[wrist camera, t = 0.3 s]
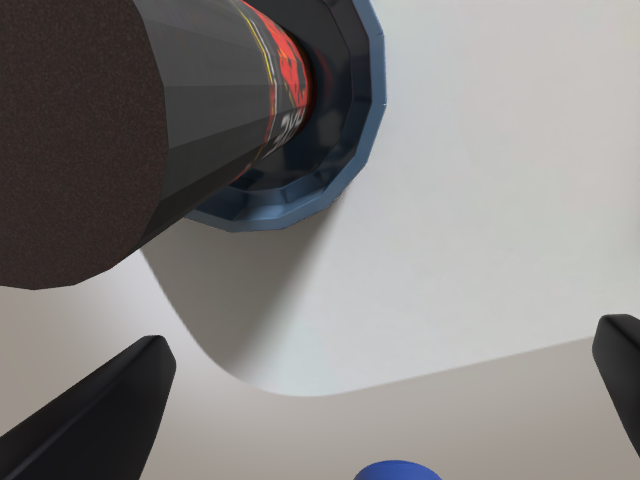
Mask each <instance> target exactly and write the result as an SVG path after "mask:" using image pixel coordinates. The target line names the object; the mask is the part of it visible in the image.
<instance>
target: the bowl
mask: <svg viewBox="0 0 640 480" xmlns="http://www.w3.org/2000/svg"><path fill="white" fill-rule="evenodd" d="M242 1H244V2H246V3H247V4H249V5H250V6H252V7H253V8H255V9H256V10H258V11H260V12H261V13H263V14H264V15H266V16H267V17H269V18H270V19H272V20H273V21H275V22H277V23H278V24H280V25H281V26H283V27H284V28H286V29H287V30H288V31H290V32H291V33H292V34H293V35H295V36H296V37H297V38H298V39H299V40H300V42H301V43H302V44H303V46H304V47H305V48H306V49H307V51H308V53H309V55H310V57H311V59H312V62H313V64H314V66H315V71H316V76H317V82H318V90H317V102H316V105H315V108H314V111H313V114H312V117H311V118H310V120H309V121H308V123H307V125H306V126H305V128H304V129H303V130H302V131H301V132H300V133H299V134H298V135H297V136H295V137H294V138H293V139H292V140H291V141H289V142H288V143H286V144H285V145H284V146H282V147H281V148H279V149H278V150H276V151H275V152H274V153H272V154H271V155H269V156H268V157H267V158H265V159H264V160H262V161H261V162H260V163H258V164H257V165H255V166H254V167H253V168H251V169H250V170H248V171H247V172H246V173H244V174H243V175H241V176H240V177H239V178H237V179H236V180H234V181H233V182H232V183H230V184H229V185H227V186H226V187H225V188H223V189H222V190H220V191H219V192H218V193H216V194H215V195H213V196H212V197H211V198H209V199H208V200H206V201H205V202H204V203H202V204H201V205H199V206H198V207H197V208H195V209H194V210H192V211H191V212H190V213H188V214H187V215H185V216H184V218H188V219H191V220H194V221H197V222H200V223H203V224H206V225H209V226H213V227H216V228H219V229H222V230H225V231H228V232H248V231H264V230H281V229H285V228H287V227H289V226H291V225H293V224H295V223H297V222H299V221H301V220H303V219H305V218H307V217H309V216H311V215H313V214H315V213H317V212H319V211H321V210H323V209H326V208H328V207H329V206H330V205H331V204H332V203H333V202H334V201H335V200H336V198H337V197H338V196H339V195H340V194H341V193H342V192H343V190H344V189H345V188H346V187H347V186H348V185H349V183H350V182H351V181H352V180H353V179H354V178H355V177H356V175H357V174H358V173H359V172H360V171H361V170H362V169H363V167H364V166H365V165H366V163H367V161H368V158H369V155H370V152H371V150H372V147H373V144H374V141H375V138H376V135H377V132H378V129H379V126H380V123H381V120H382V117H383V115H384V112H385V109H386V103H387V90H386V65H385V40H384V34H383V29H382V27H381V25H380V23H379V20H378V18H377V16H376V13H375V11H374V9H373V6H372V4H371V2H370V0H242Z"/></svg>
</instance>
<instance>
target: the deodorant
mask: <svg viewBox="0 0 640 480" xmlns="http://www.w3.org/2000/svg"><path fill="white" fill-rule="evenodd" d="M317 90H318V82H317V76H316V71H315V66H314V64H313V62H312V59H311V57H310V55H309V53H308V51H307V49H306V48H305V47H304V46H303V44H302V43H301V42H300V40H299V39H298V38H297V37H296V36H295V35H293V34H292V33H291V32H290V31H288V30H287V29H286V28H284V27H283V26H281V25H280V24H278V23H277V22H275V21H273V20H272V19H270V18H269V17H267V16H266V15H264V14H263V13H261V12H260V11H258V10H256V9H255V8H253V7H252V6H250V5H249V4H247V3H246V2H244V1H242V0H0V286H7V287H14V288H22V289H29V290H39V289H48V288H56V287H64V286H71V285H76V284H78V283H80V282H83V281H85V280H87V279H89V278H91V277H94V276H96V275H98V274H100V273H103V272H105V271H107V270H109V269H111V268H112V267H114V266H115V265H117V264H118V263H119V262H121V261H122V260H124V259H125V258H126V257H128V256H129V255H131V254H132V253H133V252H135V251H136V250H138V249H139V248H140V247H142V246H143V245H145V244H146V243H147V242H149V241H150V240H152V239H153V238H154V237H156V236H157V235H159V234H160V233H161V232H163V231H164V230H166V229H167V228H169V227H170V226H171V225H173V224H174V223H176V222H177V221H178V220H180V219H181V218H183V217H184V216H185V215H187V214H188V213H190V212H191V211H192V210H194V209H195V208H197V207H198V206H199V205H201V204H202V203H204V202H205V201H206V200H208V199H209V198H211V197H212V196H213V195H215V194H216V193H218V192H219V191H220V190H222V189H223V188H225V187H226V186H227V185H229V184H230V183H232V182H233V181H234V180H236V179H237V178H239V177H240V176H241V175H243V174H244V173H246V172H247V171H248V170H250V169H251V168H253V167H254V166H255V165H257V164H258V163H260V162H261V161H262V160H264V159H265V158H267V157H268V156H269V155H271V154H272V153H274V152H275V151H276V150H278V149H279V148H281V147H282V146H284V145H285V144H286V143H288V142H289V141H291V140H292V139H293V138H294V137H295V136H297V135H298V134H299V133H300V132H301V131H302V130H303V129H304V128H305V126H306V125H307V123H308V121H309V120H310V118H311V117H312V114H313V111H314V108H315V105H316V102H317Z"/></svg>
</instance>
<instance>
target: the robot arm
mask: <svg viewBox="0 0 640 480" xmlns="http://www.w3.org/2000/svg"><path fill="white" fill-rule="evenodd" d="M592 353H593V357H594V360H595V362H596V365H597V367H598V369H599V372H600V374H601V376H602V378H603V381H604V383H605V385H606V388H607V390H608V392H609V394H610V397H611V399H612V401H613V404H614V406H615V408H616V411H617V413H618V415H619V417H620V420H621V422H622V424H623V426H624V429H625V431H626V433H627V435H628V437H629V439H630V441H631V443H632V445H633V446H634V448H635V450H636V452H637V454H638V456H639V457H640V320H639V319H637V318H635V317H633V316H631V315H628V314H612V315H604V316H602V317H601V318H600V320H599V323H598V326H597V330H596V334H595V338H594V342H593V346H592ZM175 371H176V360H175V358H174V356H173V354H172V352H171V350H170V348H169V346H168V343H167V341H166V339H165V338H164V337H163V336H160V335H154V336H153V335H152V336H144V337H142V338H140V339H139V340H138V341H136V342H135V343H133V344H132V345H131V346H129V347H128V348H126V349H125V350H123V351H122V352H121V353H119V354H118V355H117V356H115V357H113V358H112V359H111V360H109V361H108V362H106V363H105V364H104V365H102V366H101V367H99V368H98V369H96V370H95V371H94V372H92V373H91V374H89V375H88V376H86V377H85V378H84V379H82V380H81V381H79V382H78V383H76V384H75V385H74V386H72V387H71V388H69V389H68V390H67V391H65V392H64V393H62V394H61V395H60V396H58V397H57V398H55V399H54V400H52V401H51V402H49V403H48V404H47V405H45V406H44V407H42V408H41V409H40V410H38V411H37V412H35V413H34V414H32V415H31V416H30V417H28V418H27V419H25V420H24V421H22V422H21V423H20V424H18V425H17V426H15V427H14V428H12V429H11V430H10V431H8V432H7V433H5V434H4V435H3V436H1V437H0V480H139V479H140V476H141V473H142V471H143V469H144V466H145V464H146V461H147V459H148V456H149V454H150V451H151V449H152V446H153V443H154V440H155V438H156V435H157V432H158V429H159V426H160V423H161V419H162V416H163V412H164V409H165V406H166V402H167V399H168V395H169V392H170V389H171V385H172V382H173V379H174V375H175Z"/></svg>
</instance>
